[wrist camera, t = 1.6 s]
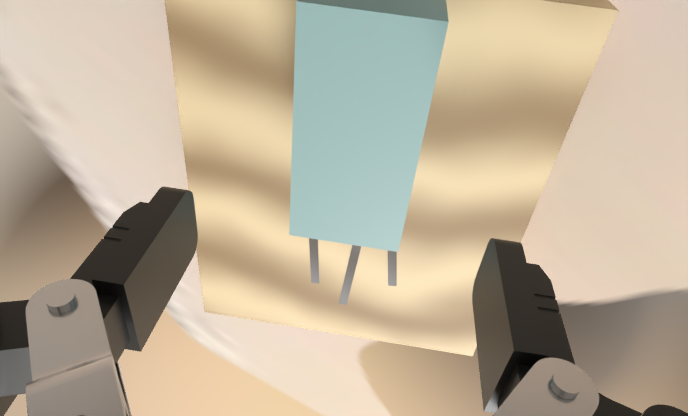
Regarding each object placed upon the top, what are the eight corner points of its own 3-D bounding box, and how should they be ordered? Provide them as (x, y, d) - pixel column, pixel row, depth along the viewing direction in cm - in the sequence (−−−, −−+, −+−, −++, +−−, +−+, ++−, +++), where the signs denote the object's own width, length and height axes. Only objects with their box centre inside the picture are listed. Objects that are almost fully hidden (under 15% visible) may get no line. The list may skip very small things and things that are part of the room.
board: (174, -58, 21) (157, -50, 20) (606, -2, 20) (619, 10, 19) (212, 294, 34) (204, 312, 33) (470, 336, 34) (472, 356, 32)
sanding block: (328, -42, 19) (296, 1, 14) (442, -27, 19) (448, 21, 14) (315, 156, 24) (289, 235, 20) (403, 169, 24) (398, 252, 20)
